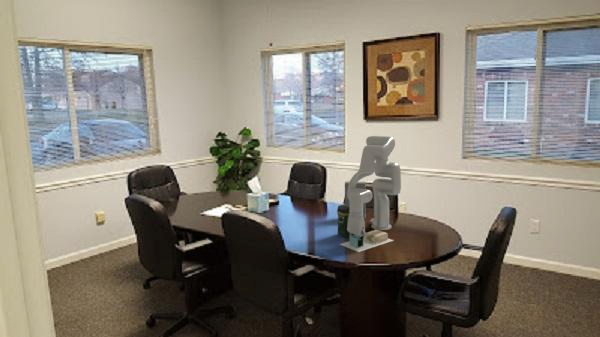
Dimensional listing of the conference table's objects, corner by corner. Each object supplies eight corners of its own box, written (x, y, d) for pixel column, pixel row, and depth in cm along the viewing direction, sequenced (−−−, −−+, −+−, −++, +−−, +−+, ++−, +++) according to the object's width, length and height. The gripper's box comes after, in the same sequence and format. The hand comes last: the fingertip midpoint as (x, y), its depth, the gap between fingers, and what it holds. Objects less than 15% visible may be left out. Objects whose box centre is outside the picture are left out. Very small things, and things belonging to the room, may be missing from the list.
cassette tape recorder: (365, 217, 311) (365, 181, 306) (365, 219, 305) (365, 183, 300) (345, 216, 313) (345, 181, 309) (344, 219, 307) (344, 183, 303)
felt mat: (339, 244, 259) (339, 244, 259) (373, 234, 275) (373, 233, 275) (358, 252, 246) (358, 251, 246) (393, 241, 262) (393, 240, 262)
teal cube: (349, 245, 256) (349, 236, 255) (356, 243, 260) (356, 233, 259) (356, 247, 252) (356, 238, 251) (363, 245, 255) (363, 236, 254)
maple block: (365, 239, 265) (365, 232, 265) (376, 236, 271) (376, 229, 270) (376, 243, 258) (376, 236, 257) (387, 239, 263) (387, 233, 263)
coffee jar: (355, 235, 273) (355, 206, 270) (346, 238, 269) (345, 208, 265) (345, 231, 281) (344, 202, 278) (335, 234, 276) (334, 205, 273)
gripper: (341, 211, 257) (341, 242, 260) (362, 218, 243) (362, 250, 247) (350, 209, 261) (351, 239, 265) (372, 215, 248) (372, 247, 251)
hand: (356, 244), depth 256 cm, fingers closed on teal cube, 5 cm apart
